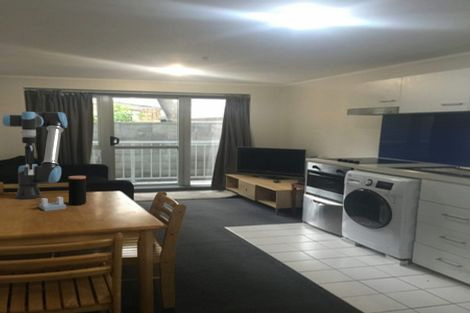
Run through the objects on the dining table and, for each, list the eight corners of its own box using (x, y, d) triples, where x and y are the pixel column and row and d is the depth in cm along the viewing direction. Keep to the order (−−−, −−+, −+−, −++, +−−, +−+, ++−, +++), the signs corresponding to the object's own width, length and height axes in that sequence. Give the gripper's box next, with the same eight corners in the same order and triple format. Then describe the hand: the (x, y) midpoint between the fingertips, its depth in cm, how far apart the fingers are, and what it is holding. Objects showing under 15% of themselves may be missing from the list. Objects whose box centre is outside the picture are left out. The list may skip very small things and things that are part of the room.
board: (39, 206, 231) (38, 197, 231) (59, 204, 239) (59, 195, 239) (44, 210, 221) (44, 201, 220) (66, 208, 229) (66, 198, 228)
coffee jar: (89, 202, 247) (89, 176, 246) (81, 206, 237) (80, 178, 236) (74, 202, 248) (73, 175, 247) (65, 205, 238) (65, 177, 237)
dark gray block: (24, 175, 230) (24, 167, 230) (33, 174, 233) (33, 166, 233) (25, 175, 227) (25, 167, 227) (34, 175, 230) (34, 167, 230)
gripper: (19, 136, 233) (20, 173, 234) (25, 137, 220) (26, 176, 222) (32, 136, 238) (33, 172, 239) (39, 137, 225) (39, 175, 226)
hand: (29, 174), depth 230 cm, fingers closed on dark gray block, 4 cm apart
